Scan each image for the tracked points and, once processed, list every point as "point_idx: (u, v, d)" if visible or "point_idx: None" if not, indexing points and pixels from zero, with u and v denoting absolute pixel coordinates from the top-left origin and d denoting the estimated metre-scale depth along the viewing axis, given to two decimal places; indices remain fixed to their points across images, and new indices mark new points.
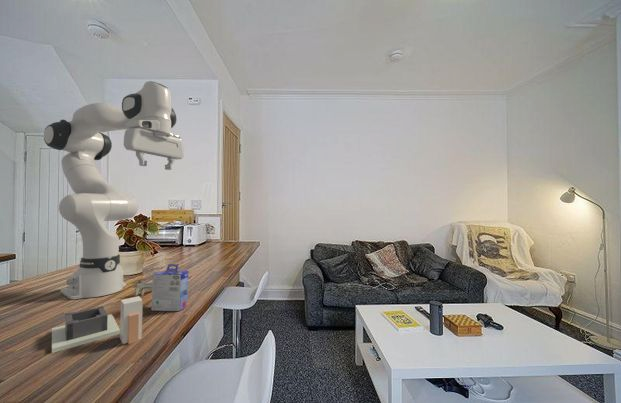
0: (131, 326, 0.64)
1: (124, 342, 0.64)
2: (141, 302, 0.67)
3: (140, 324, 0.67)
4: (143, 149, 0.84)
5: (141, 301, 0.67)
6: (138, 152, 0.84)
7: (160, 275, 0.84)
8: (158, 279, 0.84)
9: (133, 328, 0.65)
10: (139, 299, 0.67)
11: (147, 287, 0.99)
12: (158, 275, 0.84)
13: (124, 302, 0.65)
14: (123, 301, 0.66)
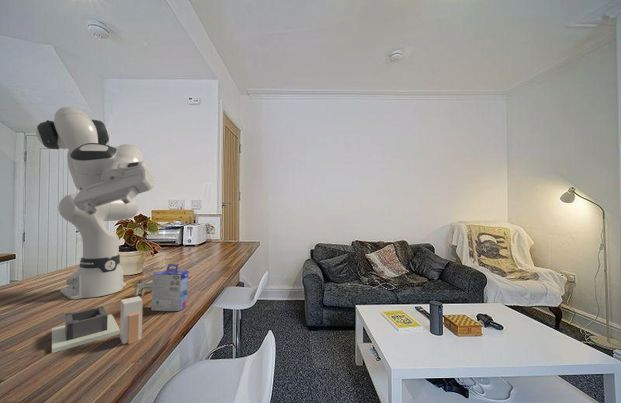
0: (131, 326, 0.64)
1: (124, 342, 0.64)
2: (141, 302, 0.67)
3: (140, 324, 0.67)
4: None
5: (141, 301, 0.67)
6: (136, 191, 0.72)
7: (160, 275, 0.84)
8: (158, 279, 0.84)
9: (133, 328, 0.65)
10: (139, 299, 0.67)
11: (147, 287, 0.99)
12: (158, 275, 0.84)
13: (124, 302, 0.65)
14: (123, 301, 0.66)
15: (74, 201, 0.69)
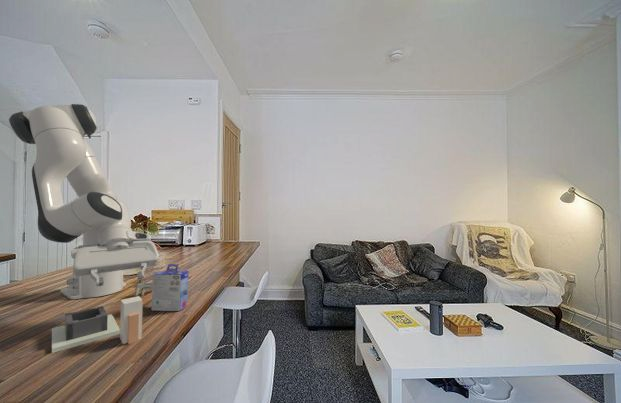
0: (131, 326, 0.64)
1: (124, 342, 0.64)
2: (141, 302, 0.67)
3: (140, 324, 0.67)
4: None
5: (141, 301, 0.67)
6: None
7: (160, 275, 0.84)
8: (158, 279, 0.84)
9: (133, 328, 0.65)
10: (139, 299, 0.67)
11: (147, 287, 0.99)
12: (158, 275, 0.84)
13: (124, 302, 0.65)
14: (123, 301, 0.66)
15: (78, 268, 0.68)
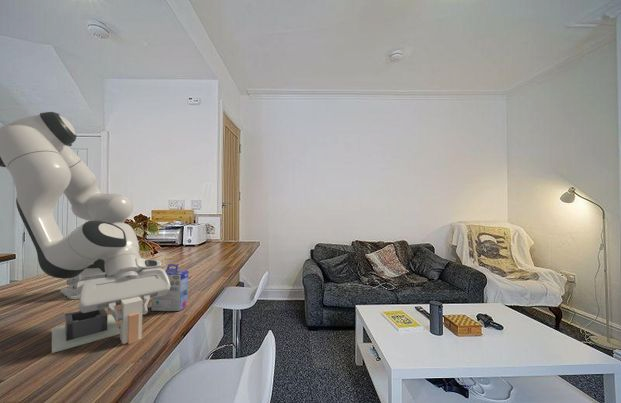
0: (131, 326, 0.64)
1: (124, 342, 0.64)
2: (141, 302, 0.67)
3: (140, 324, 0.67)
4: None
5: (141, 301, 0.67)
6: None
7: None
8: None
9: (133, 328, 0.65)
10: (139, 299, 0.67)
11: None
12: None
13: (124, 302, 0.65)
14: (123, 301, 0.66)
15: (84, 304, 0.62)
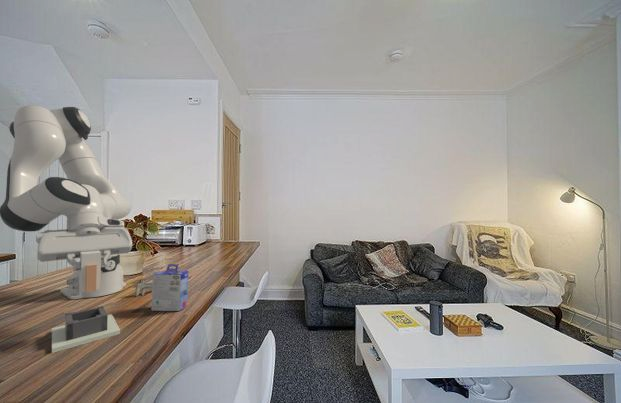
0: (89, 275, 0.67)
1: (82, 290, 0.67)
2: (100, 254, 0.70)
3: (98, 275, 0.70)
4: None
5: (100, 253, 0.70)
6: (109, 253, 0.75)
7: (160, 275, 0.84)
8: (158, 279, 0.84)
9: (91, 277, 0.68)
10: (98, 252, 0.70)
11: (147, 287, 0.99)
12: (158, 275, 0.84)
13: (82, 253, 0.68)
14: (82, 252, 0.69)
15: (42, 252, 0.65)
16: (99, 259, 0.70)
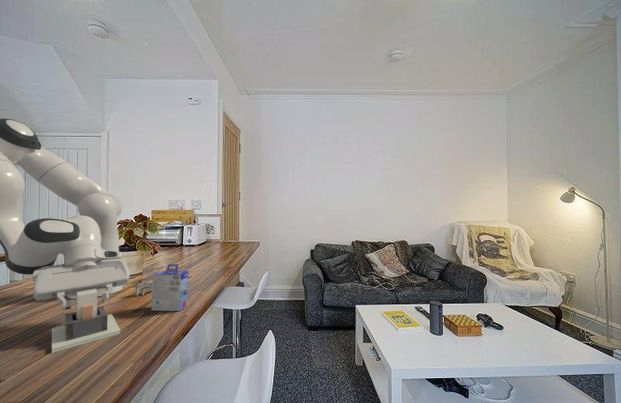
0: (85, 317, 0.67)
1: None
2: (96, 294, 0.69)
3: (95, 315, 0.69)
4: None
5: (96, 293, 0.69)
6: (111, 286, 0.75)
7: (160, 275, 0.84)
8: (158, 279, 0.84)
9: None
10: (94, 291, 0.70)
11: (148, 287, 1.00)
12: (158, 275, 0.84)
13: (79, 294, 0.68)
14: (78, 293, 0.68)
15: (38, 292, 0.64)
16: (95, 299, 0.69)
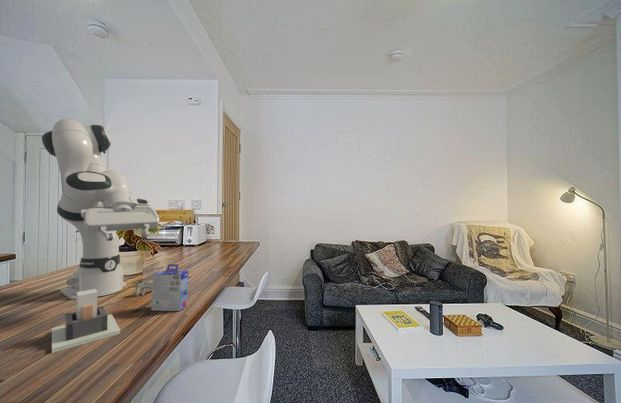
0: (85, 317, 0.67)
1: None
2: (96, 294, 0.69)
3: (95, 315, 0.69)
4: None
5: (96, 293, 0.69)
6: None
7: (160, 275, 0.84)
8: (158, 279, 0.84)
9: None
10: (94, 291, 0.70)
11: (148, 287, 1.00)
12: (158, 275, 0.84)
13: (79, 294, 0.68)
14: (78, 293, 0.68)
15: (89, 224, 0.76)
16: (95, 299, 0.69)
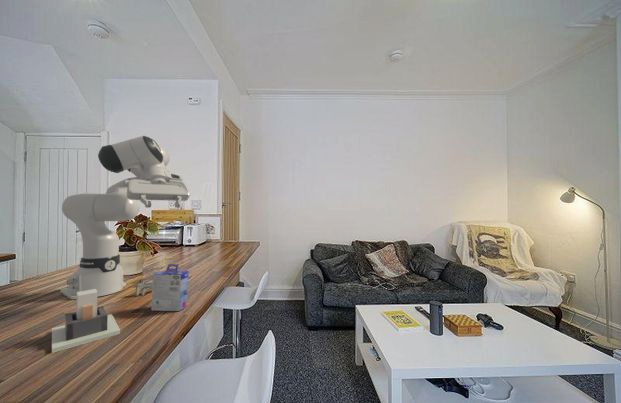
0: (85, 317, 0.67)
1: None
2: (96, 294, 0.69)
3: (95, 315, 0.69)
4: None
5: (96, 293, 0.69)
6: None
7: (160, 275, 0.84)
8: (158, 279, 0.84)
9: None
10: (94, 291, 0.70)
11: (148, 287, 1.00)
12: (158, 275, 0.84)
13: (79, 294, 0.68)
14: (78, 293, 0.68)
15: (132, 191, 0.86)
16: (95, 299, 0.69)
